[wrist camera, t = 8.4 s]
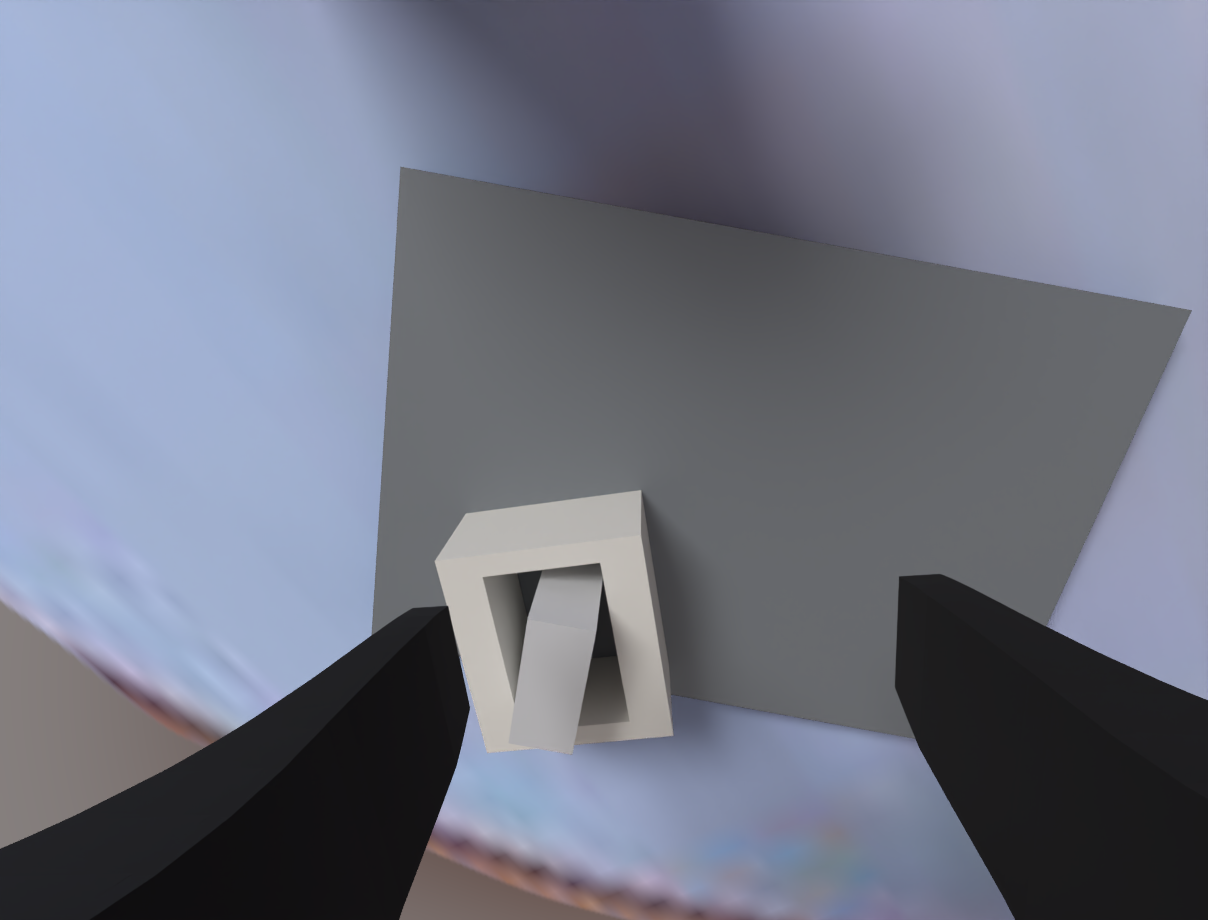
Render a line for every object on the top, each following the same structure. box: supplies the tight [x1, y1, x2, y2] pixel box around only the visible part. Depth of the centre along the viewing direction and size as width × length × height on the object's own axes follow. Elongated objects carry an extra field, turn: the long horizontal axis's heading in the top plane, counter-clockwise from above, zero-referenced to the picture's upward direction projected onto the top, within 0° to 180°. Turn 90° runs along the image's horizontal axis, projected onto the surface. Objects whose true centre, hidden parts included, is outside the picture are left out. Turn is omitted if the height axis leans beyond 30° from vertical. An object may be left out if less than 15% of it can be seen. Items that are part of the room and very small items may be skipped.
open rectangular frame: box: [435, 490, 673, 753], centre depth 18 cm, size 5×6×3 cm
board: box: [372, 167, 1192, 755], centre depth 17 cm, size 20×14×6 cm
